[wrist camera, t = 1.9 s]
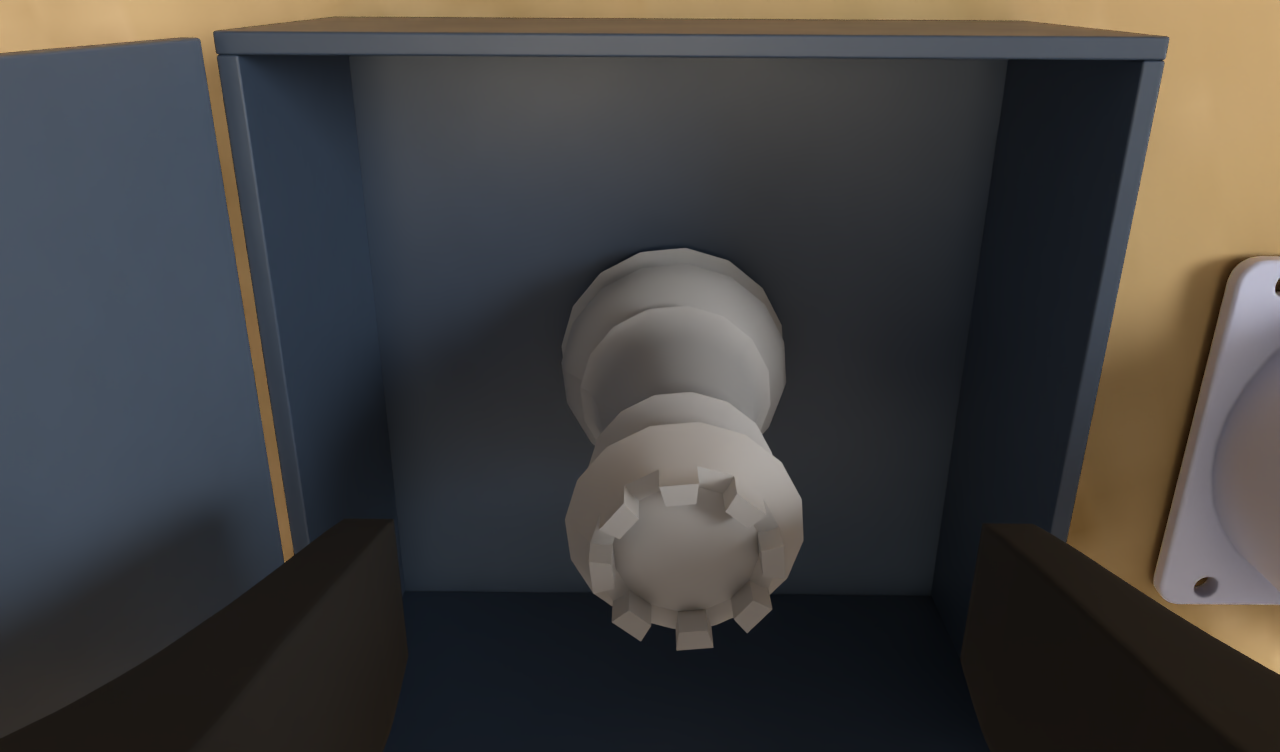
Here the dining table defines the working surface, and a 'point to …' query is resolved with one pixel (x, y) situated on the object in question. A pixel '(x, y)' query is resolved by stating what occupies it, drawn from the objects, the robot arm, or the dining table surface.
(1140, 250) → the dining table surface
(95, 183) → the flap
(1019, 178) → the carton
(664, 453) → the rook chess piece
